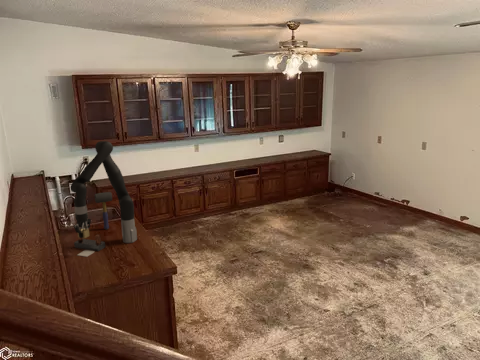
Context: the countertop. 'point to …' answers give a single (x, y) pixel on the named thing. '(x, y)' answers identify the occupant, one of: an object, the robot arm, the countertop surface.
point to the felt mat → (86, 253)
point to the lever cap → (84, 233)
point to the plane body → (90, 244)
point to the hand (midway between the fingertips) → (83, 236)
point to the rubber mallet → (104, 205)
